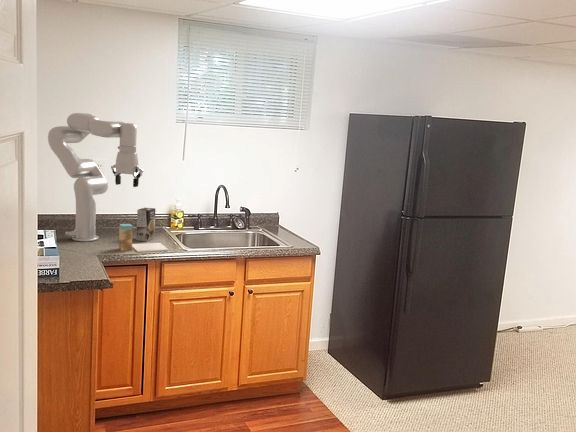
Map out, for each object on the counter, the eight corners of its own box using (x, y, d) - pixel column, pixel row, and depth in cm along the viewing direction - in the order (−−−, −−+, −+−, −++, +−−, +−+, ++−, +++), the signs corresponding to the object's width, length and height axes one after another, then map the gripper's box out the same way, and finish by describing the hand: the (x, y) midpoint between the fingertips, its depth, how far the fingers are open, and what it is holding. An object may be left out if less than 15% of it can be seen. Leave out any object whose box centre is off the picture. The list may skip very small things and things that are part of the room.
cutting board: (137, 252, 278) (137, 250, 278) (130, 245, 290) (130, 244, 290) (168, 250, 286) (168, 249, 286) (159, 244, 298) (159, 242, 298)
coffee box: (147, 241, 301) (148, 210, 298) (135, 240, 302) (136, 209, 300) (155, 238, 310) (156, 208, 307) (143, 237, 311) (144, 207, 308)
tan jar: (121, 250, 279) (121, 226, 277) (118, 248, 284) (119, 224, 281) (131, 250, 282) (132, 225, 280) (129, 247, 286) (130, 223, 284)
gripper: (107, 148, 276) (106, 184, 279) (139, 151, 271) (138, 188, 274) (116, 147, 283) (115, 182, 286) (148, 151, 278) (146, 186, 281)
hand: (126, 185), depth 280 cm, fingers open, 9 cm apart
